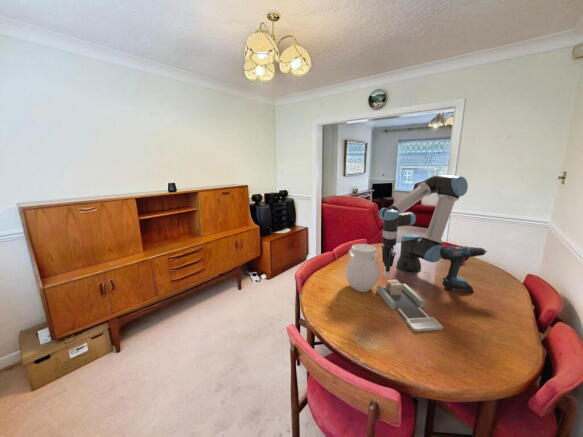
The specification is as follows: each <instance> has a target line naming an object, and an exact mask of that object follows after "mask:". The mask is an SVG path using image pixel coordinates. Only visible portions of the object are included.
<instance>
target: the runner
mask: <svg viewBox="0 0 583 437" xmlns="http://www.w3.org/2000/svg"><path fill="white" fill-rule="evenodd" d="M382 288H383V289H384V290H385V291H386V287H382ZM386 292H387V291H386ZM387 294H388V295H389V296H390V297H391V298H392V299H393V300H394V302H395V303H396V305H395V309H394V310H395V311H396V312H397V313H398V314H399V315H400V317H401V318H402V319H403V320H404V321H405V322H406V319H411V318H426V317H431V316H430V315H429V314H428V313H427V312H426V310H424V309H423V307H420V306H419V305H418V304H417V303H416V302H415V301H414V300H413V299H412V298H411V297H410V296H409V295H408V294H407V293H406V292H405V291H404V290H402V293H401V295H390V294H389V293H388V292H387Z"/></svg>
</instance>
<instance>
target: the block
mask: <svg viewBox="0 0 583 437" xmlns="http://www.w3.org/2000/svg"><path fill="white" fill-rule="evenodd" d="M402 284H403V283H401V282H400V281H399V280H398V279H387V280H386V282H385V288H386V291H387V292H388V293H389V294H390V295H401V293H402Z"/></svg>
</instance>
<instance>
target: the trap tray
mask: <svg viewBox="0 0 583 437" xmlns="http://www.w3.org/2000/svg"><path fill="white" fill-rule="evenodd" d="M405 322H406V324H407V325H408V326H409V328H410V329H411V330H412V331H413V332H414V333H417V332H420V333H421V332H431V331H433V332H434V331H443V330H444V326H443V325H442V324H441V323H440V322H439V321H438V320H437V319H436V318H435V317H433V316H430V317H426V318H411V319H406V321H405Z"/></svg>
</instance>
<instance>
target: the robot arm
mask: <svg viewBox="0 0 583 437" xmlns="http://www.w3.org/2000/svg"><path fill="white" fill-rule="evenodd" d="M468 187H469V185H468V182H467V179H466V177H464V176H461V175H451V174H450V175H448V174H436V175H432V176H431V177H428V178H427V179H425V180H423V181H421V182H419V183H418V185H417V187H416V188H414V189H413V190H412V191H410V192H409V193H406V194H405V195H404V196H403V197H402V198H400V199H399V200H397V201H396V202H394V203H392V205H389V207H382V208H381V209H379V210H378V217H379V219H381V220H383V225H382V232H381V233H382V240H381V244H382V245H381V252H382V253H381V254H382V263H383V264H384V265H383V277H390V270H391V269H390V268H392V267H393V265H394V261H395V256H396V255H397V254H396V253H397V252H394V246H396V245H397V237H398V230H399V229H398V228H399V227H405V226H407V227H408V226H412V225H414V224H415V223H416V220H417V217H416V214H414V213H413V212H411V211H407V210H408V209H410V208H411V207H412V206H414V205H415V204H417V203H418V202H419V201H421V200H422V199H423V198H425V197H428V196H431V195H432V194H436V196H437V197H438V199H437V202H436V205H435V208H434V211H433V214H432V217H431V220H430V222H429V224H428V225H429V226H428V227H427V231H426V234H425V235H423V236H421V235H420V234H411V233H410V234H403V235H402V236H401V240H400V254H399V257H398V259H397V261H396V267H397V269H399V270H401V271H405V272H409V273H417V272H420V271H422V265H421V264H422V263H421V261H420V259H422V260H424V261H425V262H429V263H437V262H439V261H440V260H442V258H441V256H440V250H441V248H442V247H444V246H443V244H444V242H443V240H442V239H443V236H444V232H445V229H446V227H447V224H448V222H449V218H450V215H451V213H452V210H453V207H454V204H455V202H457V201H459V199H460V197H463V196H464V195H466V193H467V192H468Z"/></svg>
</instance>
